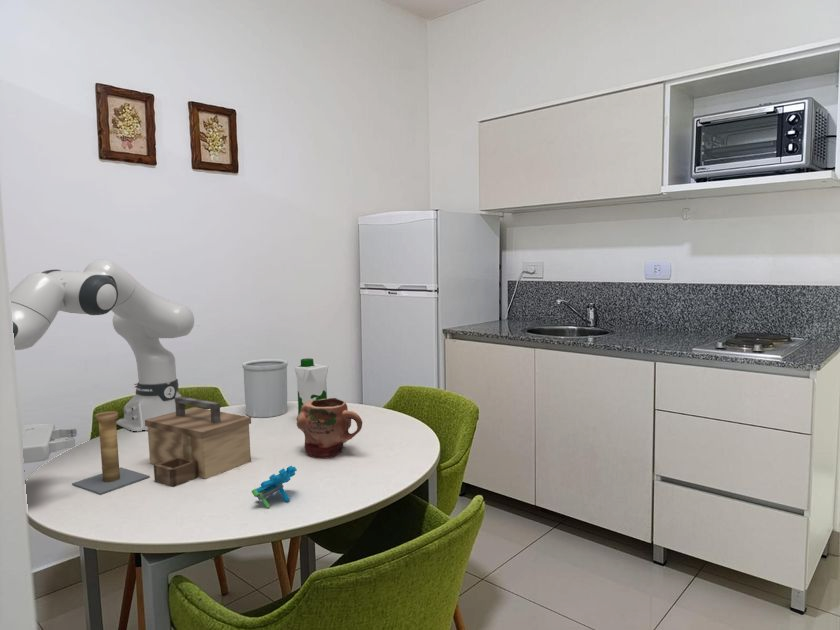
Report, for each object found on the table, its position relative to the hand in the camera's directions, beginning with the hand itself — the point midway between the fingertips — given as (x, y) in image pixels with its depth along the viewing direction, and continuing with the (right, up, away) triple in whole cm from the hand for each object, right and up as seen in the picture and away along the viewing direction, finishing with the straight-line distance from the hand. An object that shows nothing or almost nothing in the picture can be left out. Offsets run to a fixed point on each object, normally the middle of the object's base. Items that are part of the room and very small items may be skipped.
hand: (75, 437), depth 135 cm
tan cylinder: (+6, -11, +5) cm, 13 cm away
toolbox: (+21, -10, +14) cm, 27 cm away
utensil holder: (+27, -5, +65) cm, 71 cm away
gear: (+48, -12, -8) cm, 50 cm away
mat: (+6, -11, +5) cm, 14 cm away
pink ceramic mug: (+56, -9, +22) cm, 60 cm away
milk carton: (+46, -6, +53) cm, 70 cm away
